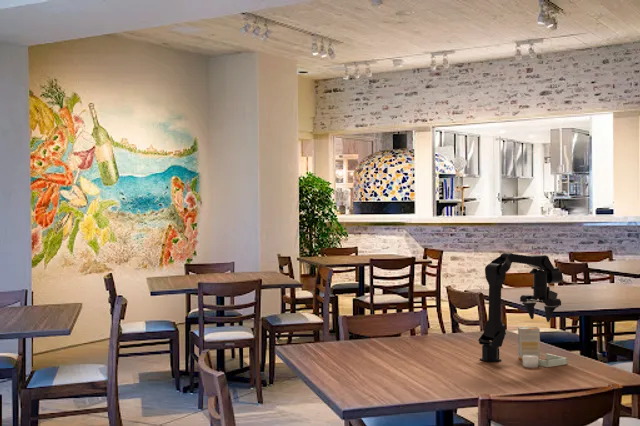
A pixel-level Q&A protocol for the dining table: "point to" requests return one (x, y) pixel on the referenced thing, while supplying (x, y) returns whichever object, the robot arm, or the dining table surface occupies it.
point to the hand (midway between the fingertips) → (540, 320)
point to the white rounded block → (530, 361)
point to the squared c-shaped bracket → (552, 361)
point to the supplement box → (528, 341)
